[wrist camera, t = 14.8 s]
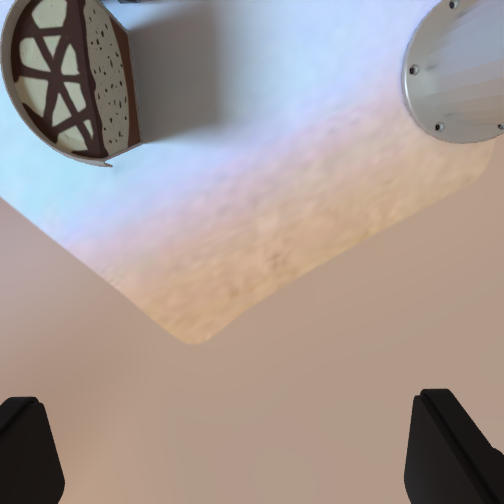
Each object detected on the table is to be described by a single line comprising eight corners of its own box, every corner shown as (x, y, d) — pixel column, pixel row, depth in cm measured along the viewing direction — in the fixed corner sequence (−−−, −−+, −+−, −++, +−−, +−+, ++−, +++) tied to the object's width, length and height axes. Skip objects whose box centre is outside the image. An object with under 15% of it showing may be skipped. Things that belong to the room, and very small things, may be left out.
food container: (57, 16, 31) (-33, -37, 21) (127, 13, 31) (67, -42, 21) (82, 161, 35) (15, 172, 25) (144, 160, 35) (101, 169, 25)
